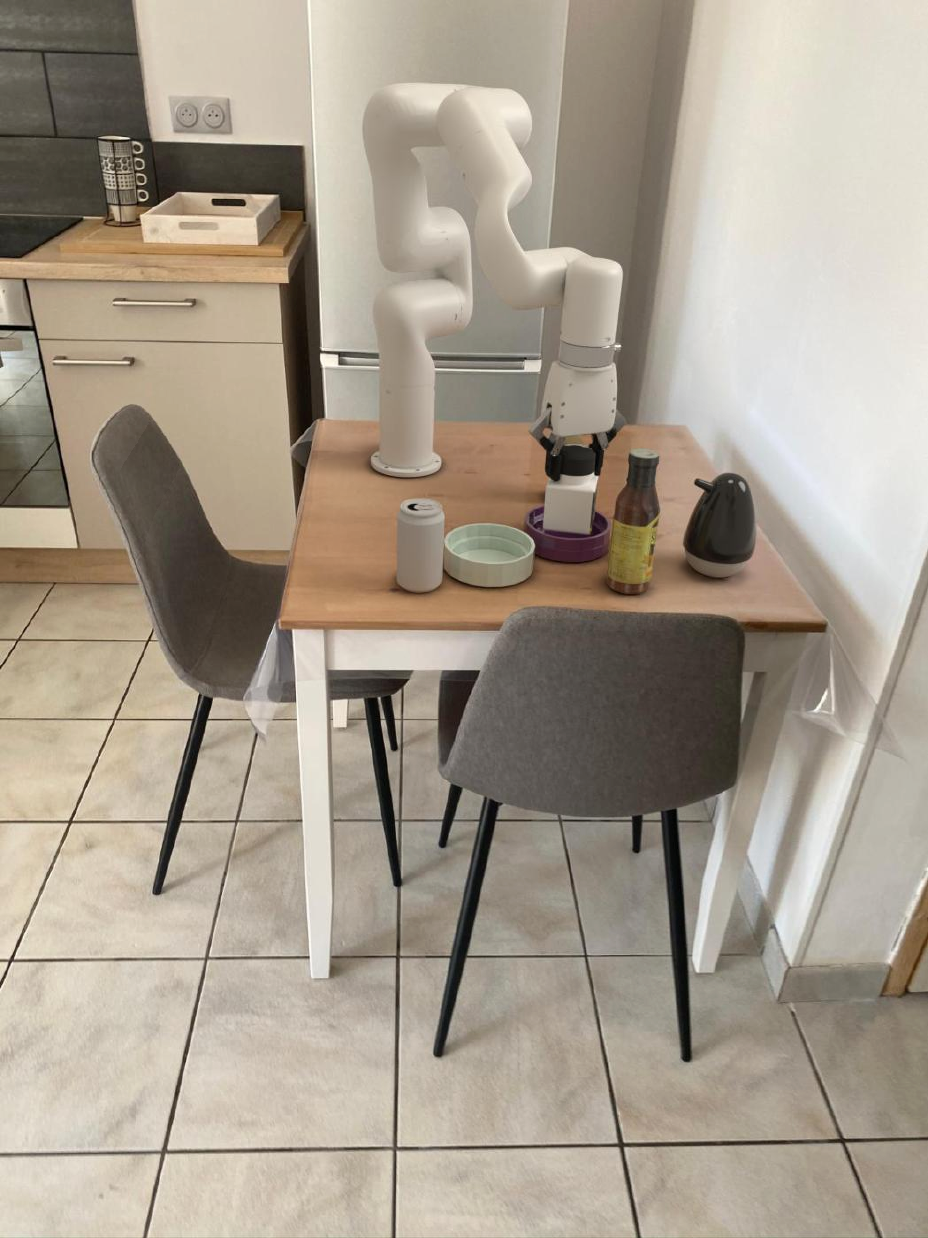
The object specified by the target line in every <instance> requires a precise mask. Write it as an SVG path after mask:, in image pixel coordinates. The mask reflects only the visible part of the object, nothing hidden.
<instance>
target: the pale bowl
mask: <svg viewBox="0 0 928 1238" xmlns="http://www.w3.org/2000/svg"><path fill="white" fill-rule="evenodd" d="M523 531H524V530H522V529H521V530H520V529H519V528H516V527H514V526H509V525H505V524H499V523H491V522H488V523H487V522H483V523H482V522H480V523H479V522H476V523H471V524H465V525H462V526H458V527H456V528H453V529H452V530H450V531H449V532H448V533H446V535H445V536H444V545H443V568H444V569H443V570H445V572H446V573H447V574H448V575H449V576H450V577H452V578H454V579H456V580H457V581H458V582H462V583H465V584H468V585H471V586H475V587H476V586H477V587H482V588H483V587H484V588H493V587H494V588H500V587H501V588H502V587H509V586H513V585H517V584H520V583H522V582H523V581H526V580H527V579H528V578H529V577H531V576H532V573H533V571H534V565H535V562H534V561H535V555H536V554H535V544H534V541H533V539H532V538H531V537H530V536H529V535H528V534H526V533H525V532H523Z"/></svg>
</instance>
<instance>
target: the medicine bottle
mask: <svg viewBox="0 0 928 1238" xmlns="http://www.w3.org/2000/svg"><path fill="white" fill-rule="evenodd" d="M559 455H561V456H562V465H561V475H560V480H559V481H557V482H554V481H553V480H552V479H551V478H549V477H548V480H547V483H546V486H545V493H544V494H545V495H544V504H545V506H544V519H543V529H544V530H548V531H557V532H567V533H576V534H585V535H589V534H590V533H591V529H592V524H593V520H594V514H595V510H596V504H597V494H598V493H597V492H598V486H599V485H598V484H599V476H595V475H594V468H595V458H596V453H595V452H594V450H593V449H591V448H589V447H588V446H587V445H585V444H584V445H580V444H566V445H563V446H562V448H561V450H560V452H559Z"/></svg>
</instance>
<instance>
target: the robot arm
mask: <svg viewBox="0 0 928 1238" xmlns="http://www.w3.org/2000/svg"><path fill="white" fill-rule="evenodd" d="M361 127H362V128H361V129H362V140H363V146H364V151H365V152H364V153H365V155H366V159H367V163H368V166H369V172H370V176H371V180H372V181H371V182H372V196H373V197H372V198H373V209H374V210H373V211H374V221H375V235H376V246H377V247H376V248H377V254H378V257H379V261H380V263H381V264H382V266H383V267H384V268H385V269H386V270H387V271H389V272H392V273H397V274H399V273H401V274H403V273H414V272H423V271H429V276H430V278H424V279H423V278H421V279H414V280H407V281H400V282H395V283H393V284H389V285H388V286H385V287H383V288H382V289H381V290H380V291H379V292H378V293H377V294H376V297H375V298H374V300H373V305H372V317H373V324H374V329H375V335H376V340H377V347H378V367H379V369H378V378H379V450H377V451H376V452H373V454H372V455H371V456H370V457H371V458H370V466H371V467H372V468H373V470H375V471H376V472H378V473H380V474H382V475H386V476H390V477H395V478H418V477H419V478H420V477H426V476H429V475H432V474H435V473H437V471H440V468H441V467H442V458H441V456H440V455H439V454H438V453H436V452H435V451H434V428H435V427H434V426H435V399H436V398H435V395H436V394H435V393H436V367H435V363H434V359H433V357H432V355H431V354H430V352H429V350H428V348H427V345H426V341H427V340H432V339H437V338H441V337H447V336H452V335H456V334H458V333H460V332H463V331H464V330H465V329H466V328H467V327H468V325H469V324H470V322H471V319H472V315H473V308H474V307H473V306H474V297H473V294H474V293H473V268H472V243H471V237H470V233H469V228H468V226H467V224H466V222H465V220H464V218H463V216H462V215H461V214H460V212H458V211H456V210H455V209H453V208H451V207H449V206H429V201H428V199H429V198H428V184H427V178H426V174H425V171H424V169H423V167H422V164H421V163H420V161H419V159H418V158H417V156H416V155H415V154H414V152H413V151H412V149H414V148H439V147H441V148H442V147H446V149H447V151H448V153H449V155H450V157H451V159H452V161H453V162H454V164H455V167H457V169H458V172H459V174H460V175H461V177H462V179H463V181H464V182H465V184H466V186H467V188H468V190H469V191H470V193H471V195H472V197H473V199H474V201H475V203H476V205H477V212H476V217H475V223H474V242H475V251H476V256H477V260H478V262H479V264H480V267H481V268H482V270H483V272H484V274H485V276H486V278H487V279H488V281H489V284H490V286H492V288H493V290H494V292H495V293H496V295H497V296H498V298H499V299H500V300H501V301H502V302H503V303H504V304H505V305H506V306H508V307H509V308H510V309H513V310H516V311H530V310H536V309H542V308H549V307H554V306H555V307H557V306H562V313H561V325H560V333H559V335H560V336H559V346H558V347H559V348H558V357H557V360H553V361H552V363H551V366H550V368H549V371H548V375H547V379H546V382H545V387H544V391H543V398H542V404H541V410H540V412H541V413H540V415H539V417H538V418H537V419H536V420H535V421H534V422H533V423H532V424H531V425H530V427H529V428H528V430H527V431H528V433H529V435H531V436H532V437H533V439H535V440H536V442H537V443H538V444H539V445H540V446H541V447H542V448H543V450H545V460H544V461H545V462H544V473H545V475H546V477H548V479H549V478H551V479H552V480H553V481H554V482H557V481H559V480H560V475H561V465H562V456H561V455H559V452H560V450H561V448H562V446H563V443H564V441H565V439H566V437H571V436H578V437H580V436H588V435H590V438H591V442H592V443H589V444H588V446H587V447H589V448H591V449H593V450H594V452H595V453H596V458H595V468H594V475H595V476H598V477H600V476H601V473H602V468H603V465H604V455H605V451H606V450H608V449H609V446H610V445H609V444H610V443H611V442H612V441H613V440H614V439H616V436H617V435H618V433H619V432H620V431H621V430H622V429H623V428H624V427H625V426H626V424H627V420H626V418H625V417H624V416H623V415H622V414H621V413H620V411H619V410H618V409H617V400H618V399H617V398H618V377H617V368H616V367H617V366H616V363H615V362H614V361H613V360H614V358H615V354H617V353H620V352H621V350H622V345H621V343H620V342H616V337H617V328H618V322H619V321H618V319H619V311H620V304H621V297H622V296H621V295H622V287H623V280H624V279H623V278H624V271H623V268H622V266H621V264H620V263H619V262H618V261H615V260H613V259H610V258H604V257H594V256H592V255H589V254H588V253H586V252H584V251H582V250H580V249H578V248H575V247H570V246H561V247H552V248H540V249H539V248H538V249H533V250H525V251H524V249H523V248H522V246H521V244H520V243H519V241H518V240H517V238H516V236H515V234H514V232H513V230H512V227H511V225H510V221H509V217H508V213H509V212H510V211H511V210H513V209H514V208H515V207H516V206H517V205H519V204H520V202H521V201H523V200H524V198H525V197H526V195H527V194H528V192H529V191H530V189H531V187H532V182H533V176H532V173H531V170H530V167H529V166H528V165H527V162H526V161H525V159H524V157H523V156H522V154H521V153H520V150H522V149H523V148H525V146H526V145H527V143H528V142H529V140H530V138H531V135H532V131H533V118H532V113H531V109H530V107H529V105H528V103H527V101H526V100H525V99H524V97H522V95H521V94H520V93H519V92H517V91H515V90H513V89H510V88H503V87H500V88H499V87H497V88H496V87H488V86H487V87H486V86H479V85H471V84H462V83H461V84H460V83H432V82H429V83H428V82H399V83H393V84H389V85H386V86H383V87H381V88H379V89H377V90H376V91H375V92H374V93H373V94H372V95H371V96H370V98H369V100H368V101H367V104H366V106H365V109H364V112H363V118H362V126H361ZM545 429H547V430H549V432H548V434H547V436H546V435H545V434H544V430H545Z"/></svg>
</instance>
